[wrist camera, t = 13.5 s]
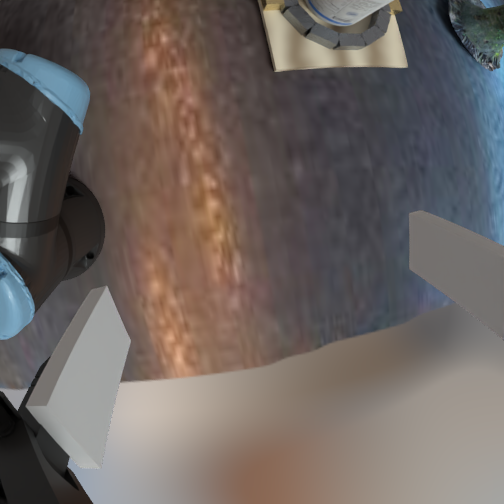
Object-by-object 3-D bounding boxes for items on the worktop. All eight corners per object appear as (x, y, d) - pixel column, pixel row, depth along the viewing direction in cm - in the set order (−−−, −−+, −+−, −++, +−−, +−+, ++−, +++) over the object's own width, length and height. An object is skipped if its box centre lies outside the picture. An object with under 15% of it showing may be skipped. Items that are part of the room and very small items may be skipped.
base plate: (274, 71, 38) (276, 70, 36) (244, -47, 30) (246, -51, 29) (403, 68, 39) (407, 67, 38) (371, -40, 31) (374, -43, 30)
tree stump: (509, 70, 41) (561, 73, 25) (446, 73, 45) (499, 72, 29) (486, -3, 34) (533, -16, 18) (419, -7, 38) (462, -32, 22)
